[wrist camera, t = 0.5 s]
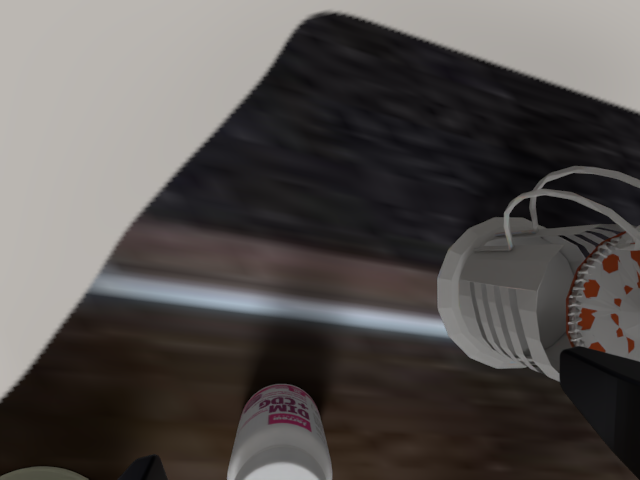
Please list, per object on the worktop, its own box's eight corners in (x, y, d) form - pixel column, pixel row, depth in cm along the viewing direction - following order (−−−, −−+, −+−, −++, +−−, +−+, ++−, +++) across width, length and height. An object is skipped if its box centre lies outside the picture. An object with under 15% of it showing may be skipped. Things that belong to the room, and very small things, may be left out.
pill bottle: (306, 370, 24) (321, 434, 15) (329, 445, 24) (357, 550, 15) (229, 396, 23) (201, 478, 15) (253, 473, 23) (239, 598, 15)
